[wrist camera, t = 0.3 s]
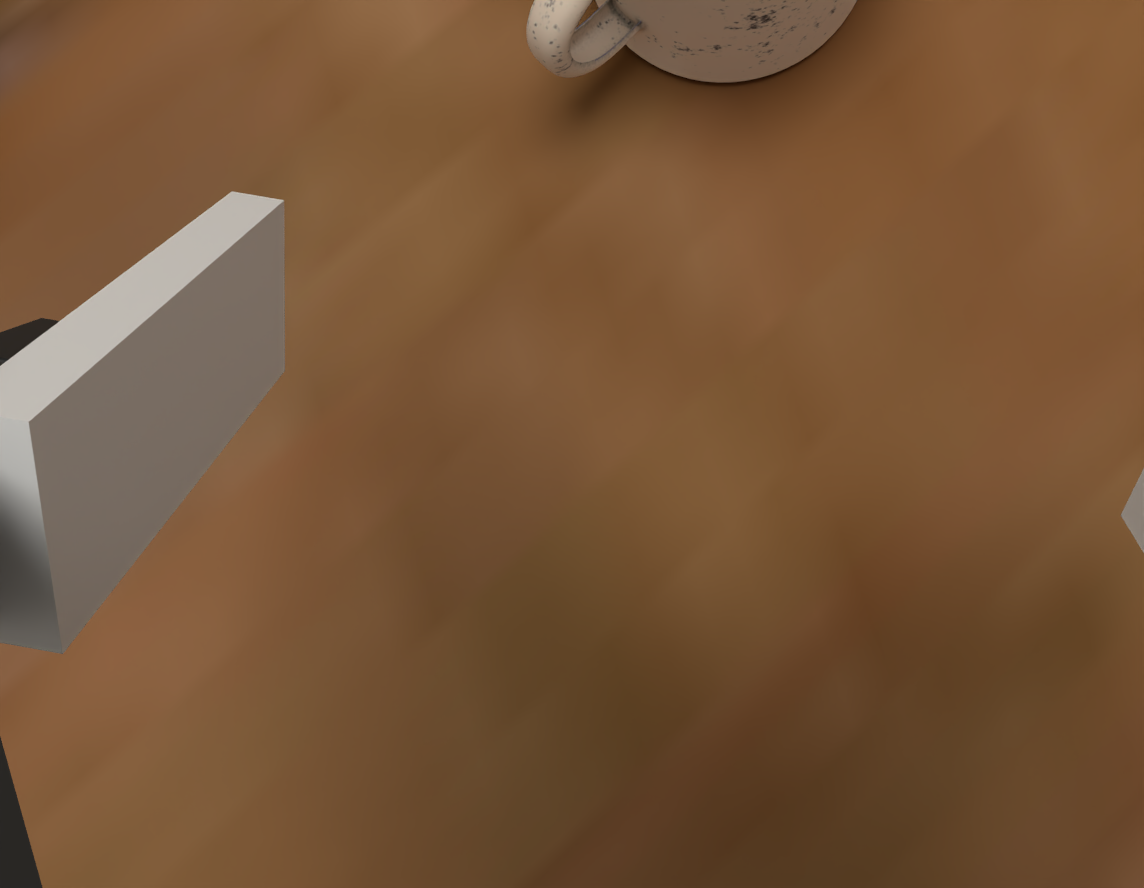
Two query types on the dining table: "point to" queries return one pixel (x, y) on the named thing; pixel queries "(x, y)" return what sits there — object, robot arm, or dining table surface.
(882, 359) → the dining table surface
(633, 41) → the teacup with lid
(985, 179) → the dining table surface
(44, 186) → the dining table surface
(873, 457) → the dining table surface
